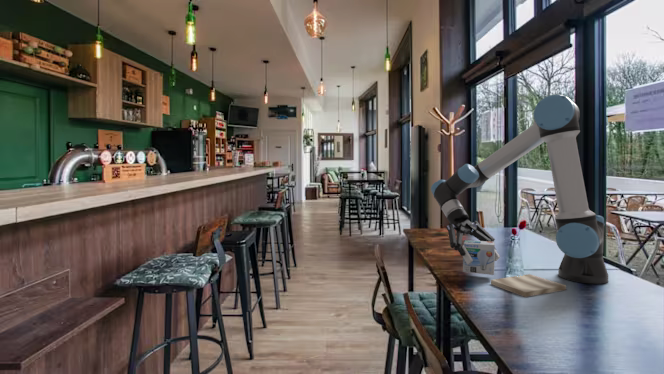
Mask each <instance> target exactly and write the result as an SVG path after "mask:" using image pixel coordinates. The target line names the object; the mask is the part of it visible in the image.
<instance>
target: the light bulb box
mask: <svg viewBox="0 0 664 374" xmlns="http://www.w3.org/2000/svg"><path fill="white" fill-rule="evenodd" d="M462 245H464V246H465V248H466V249H467V251H468V253H469V254H470V256H471V258H472V259H473V261H472V262H471V263H470V264H469V265H467V263H466V261H465V260H464V258H463V257H462V273H470V274H481V275H491V276H494V275H495V263H496V261H495V248H496V245H495V241H493V242H490V241H480V240H470V239H469V240H468V239H465V240H464V241H463V243H462Z"/></svg>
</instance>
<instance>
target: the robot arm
mask: <svg viewBox="0 0 664 374" xmlns="http://www.w3.org/2000/svg"><path fill="white" fill-rule="evenodd" d="M533 110H534V111H533V120H534V121H533V124H532V125H531V126H529V127H528V128H527V129H524V130H523V131H522V132H521V133H519V134H517V136H515V137H514V138H512V139H511V140H510V141H508V142H506V144H504V145H503V146H501V147H500V148H499V149H497V150H495V151H494V152H493V153H492V154H490V155H488V157H486V158H484V159H483V160H482V161H480V162H478V164H476V165H474V166H473V165H472V164H469V163H465V164H464V165H462V166H460V167H459V168H458V169H457V170H456V171H455V172H454V173H453V174H452V175H451V176H449V178H448V179H438V180H437V181H434V183H432V185H431V187H430V191H431V193H432V195H433V198H434V199H435V201H436V202H437V204H438V206H439V207H440V209H441V211H442V212H443V214H444V216H445V218H446V220H447V221H448V224H447V226H446V228H445V229H446V230H447V232H448V238H449V239H448V241H449V246H450V248H452V249H454V250H455V251H458V253H459V255H460V256H461V257H462V259H463V258H464V260H465V261H466V263H467V265H469V264H470V263H471V262H472V261H473V259H472V258H471V256H470V254H469V253H468V251H467V249H466V248H465V246H464V245H463V237H464V235H470V236H473V237H474V238H475V239H477V241H490V242H495V240H496V239H495V237H494V236H492V235H491V234H490V233H489V232H488V231H487V230H486V229H485V228H484V227H482V225H481V224H480V223H479V222H478V220H474V222H472V221H470V216H469V214H468V212H467V211H466V210H465V209H464V206H463V205H462V203H461V202H460V200H459V198H458V196H459V195H460V194H462V193H464V191H465V190H467V189H470V188H471V189H472V188H479V187H481V186H483V185H484V184H485V183H486V182H487V181H488V180H489V179H491V178H492V177H494V176H496V175H497V174H498V173H500V172H501V171H503V170H504V169H506V168H508V166H510V165H512V164H513V163H515V162H516V161H518V160H519V159H520V158H522V157H524V156H525V155H527V154H528V153H530V152H532V150H535V149H536V148H537V147H539V146H540V145H542V144H543V143H545V144H546V147H547V153H548V158H549V160H548V161H549V164H550V170H551V171H550V172H551V175H552V181H553V186H554V193H555V198H556V203H557V210H558V213H557V214H556V215H555V217H554V220H555V226H556V227H555V228H556V234H555V242H556V246H557V247H558V248H559V250H560V251H561V252H562V253H563V257H562V259H561V262H560V264H559V267H558V270H557V271H558V272H557V273H558V276H559V277H560V278H562V279H564V280H568V281H572V282H577V283H583V284H589V285H590V284H594V285H597V284H598V285H599V284H600V285H601V284H606V283H608V282H609V274H608V273H609V272H608V270H607V268H606V263H605V260H604V240H605V239H604V236H605V224H606V223H605V218H604V216H602V215H597V214H596V213H595V212H593V211H592V210H590V208H589V202H588V197H587V191H586V186H585V180H584V176H583V170H582V165H581V161H580V160H581V159H580V154H579V149H578V142H577V136H578V135H579V134H580V132H581V130H580V122H579V120H580V115H581V113H580V108H579V106H578V104H577V103H575V102H574V101H573V100H572V99H571V98H570V97H568V96H566V95H563V94H550V95H547V96H545V97H543V98H541V100H539V101H538V102H537V104H536V106H535V108H534V109H533ZM500 258H501V256H500V254H499V253H498V251H497V248H496V247H495V262H497V261H498V260H499V259H500Z"/></svg>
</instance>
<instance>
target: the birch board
mask: <svg viewBox="0 0 664 374" xmlns="http://www.w3.org/2000/svg"><path fill="white" fill-rule="evenodd" d="M522 275H523V276H521V275H514V276H508V277H501V278H494V279H491V280H490V285H492V286H494V287H497V288H501V289H503V290H506V291H508V292H511V293H514V294H515V295H519V296H521V297H524V298H528V297H533V296H538V295H539V296H540V295H543V294H544V295H545V294H551V293H554V292H562V291H566V290H567V287H566V286H567V285H566V284H563V283H560V282H556V281H554V280H549V279H547V278H543V277H540V276H537V275H533V274H530V273H527V274H522ZM517 276H518V277H517ZM519 276H520V277H519Z"/></svg>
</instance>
